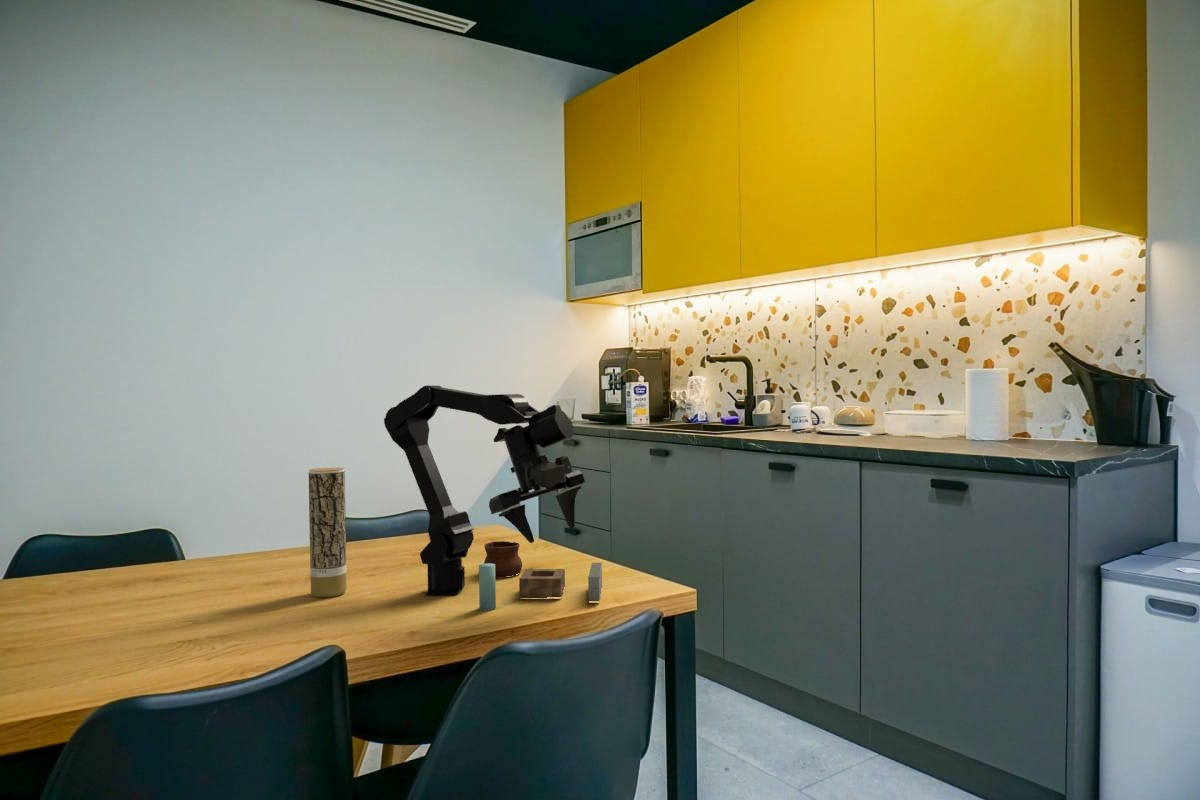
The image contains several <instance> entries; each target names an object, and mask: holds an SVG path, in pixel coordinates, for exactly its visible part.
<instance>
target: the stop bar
mask: <svg viewBox="0 0 1200 800" xmlns="http://www.w3.org/2000/svg"><path fill="white" fill-rule="evenodd" d="M587 577H588V578H587V580H588V581H587V582H588V584H587V585H588V587H587V588H588V602H589V601H599V600H600V601H601V597H600V594H601V595H602V592H601V588H602V589H603V562H591V566H590V570H589V573H588V576H587Z"/></svg>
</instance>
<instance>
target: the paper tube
mask: <svg viewBox="0 0 1200 800" xmlns="http://www.w3.org/2000/svg"><path fill="white" fill-rule="evenodd" d="M308 507H309V508H308V510H309V511H308V512H309V514H308V518H309V520H308V521H309V560H310V561H309V565H310V568H309V570H310V571H309V573H310V575H309V576H310V594H311V595H312V596H313V597H315V598H332V597H338V596H341V595H343V594H345V593H346V591H347V586H348V585H347V583H348V582H347V535H346V534H347V531H346V529H347V527H346V523H347V522H346V519H347V518H346V473H345V467H316V468H310V469H308Z"/></svg>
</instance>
